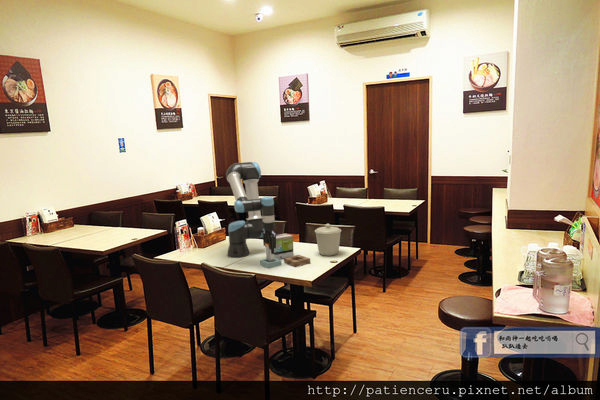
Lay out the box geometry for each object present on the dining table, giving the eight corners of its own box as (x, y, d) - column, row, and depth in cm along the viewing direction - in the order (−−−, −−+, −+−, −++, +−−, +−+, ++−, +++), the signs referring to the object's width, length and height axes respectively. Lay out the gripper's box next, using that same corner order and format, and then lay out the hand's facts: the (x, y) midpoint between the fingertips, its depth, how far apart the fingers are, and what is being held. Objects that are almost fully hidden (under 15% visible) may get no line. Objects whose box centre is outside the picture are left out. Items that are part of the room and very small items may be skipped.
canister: (311, 256, 270) (310, 225, 267) (321, 249, 286) (320, 220, 283) (336, 258, 262) (335, 227, 259) (345, 251, 278) (344, 221, 275)
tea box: (274, 260, 263) (273, 238, 261) (267, 257, 272) (266, 236, 270) (294, 256, 271) (293, 235, 269) (286, 253, 280) (285, 232, 278)
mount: (259, 264, 255) (259, 260, 255) (273, 261, 261) (272, 257, 260) (268, 268, 247) (267, 263, 247) (281, 265, 253) (281, 260, 252)
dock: (284, 262, 258) (284, 258, 257) (299, 259, 265) (299, 254, 264) (295, 267, 248) (294, 262, 248) (310, 263, 255) (310, 258, 254)
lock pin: (265, 265, 254) (264, 243, 252) (271, 263, 257) (270, 242, 255) (269, 266, 251) (268, 244, 249) (275, 265, 253) (274, 243, 251)
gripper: (256, 220, 254) (258, 256, 258) (270, 224, 241) (272, 262, 244) (266, 219, 259) (268, 254, 262) (280, 222, 245) (282, 259, 249)
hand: (270, 258), depth 253 cm, fingers closed on lock pin, 4 cm apart
